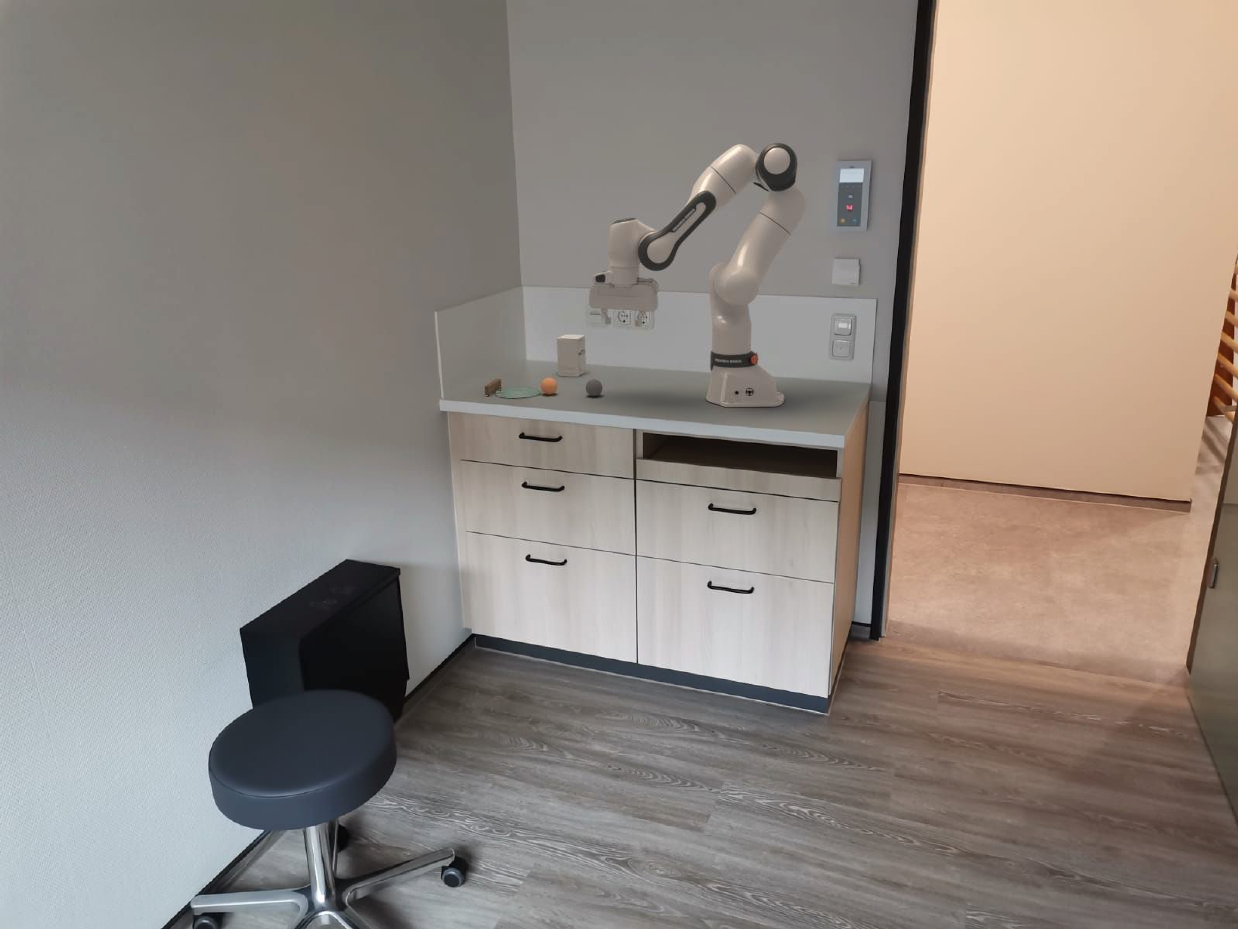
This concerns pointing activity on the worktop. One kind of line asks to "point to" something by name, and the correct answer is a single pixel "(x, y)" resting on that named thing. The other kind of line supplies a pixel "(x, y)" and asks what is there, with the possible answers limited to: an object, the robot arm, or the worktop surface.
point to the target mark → (510, 393)
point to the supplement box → (571, 355)
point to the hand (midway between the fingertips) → (623, 325)
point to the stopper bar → (493, 387)
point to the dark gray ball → (594, 387)
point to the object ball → (549, 386)
